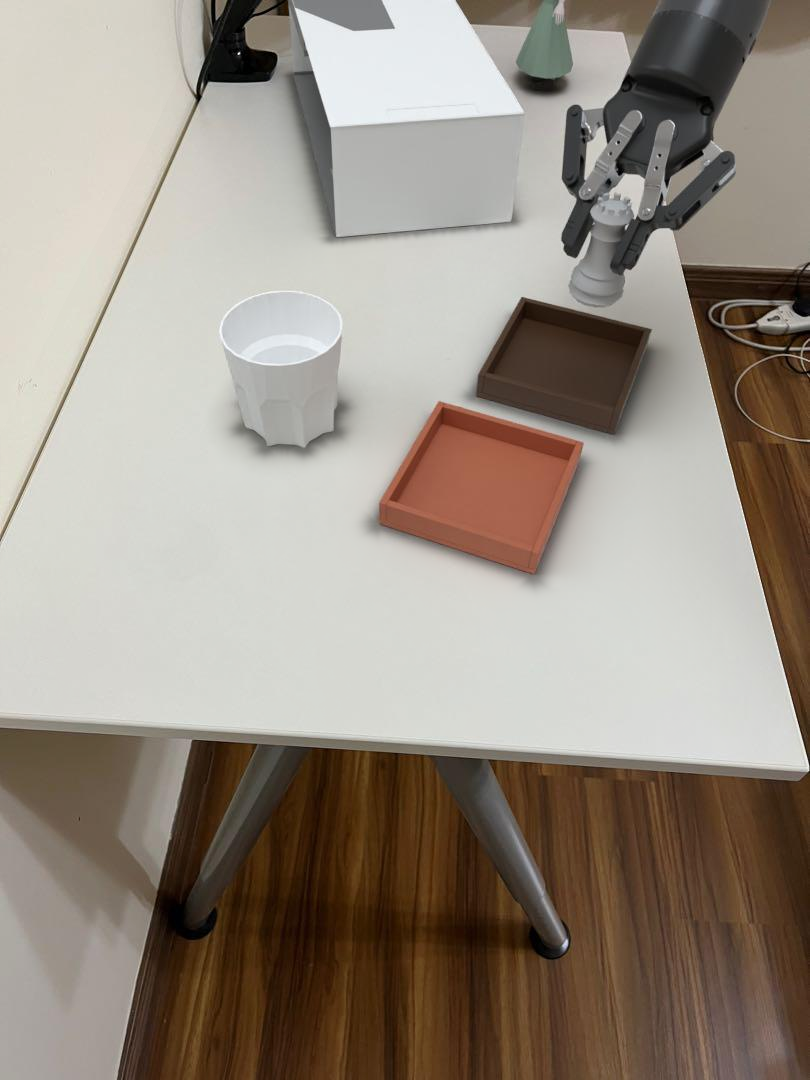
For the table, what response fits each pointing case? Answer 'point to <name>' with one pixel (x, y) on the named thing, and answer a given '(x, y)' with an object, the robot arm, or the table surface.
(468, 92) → the white box
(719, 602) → the table surface
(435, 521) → the terracotta tray
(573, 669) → the table surface
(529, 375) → the walnut tray
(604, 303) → the rook chess piece
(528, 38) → the character figurine
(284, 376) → the cup
